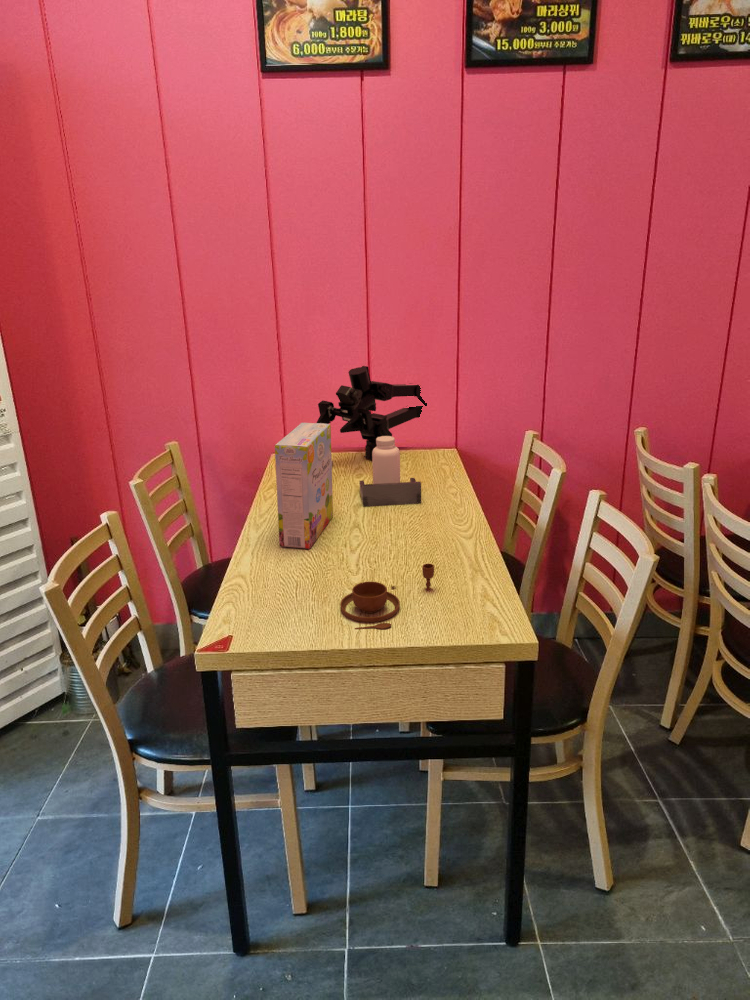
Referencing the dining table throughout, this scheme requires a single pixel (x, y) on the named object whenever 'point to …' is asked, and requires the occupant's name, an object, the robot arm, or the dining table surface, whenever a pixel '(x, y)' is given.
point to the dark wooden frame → (391, 493)
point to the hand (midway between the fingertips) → (328, 428)
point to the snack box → (304, 484)
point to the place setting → (377, 599)
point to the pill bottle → (386, 461)
